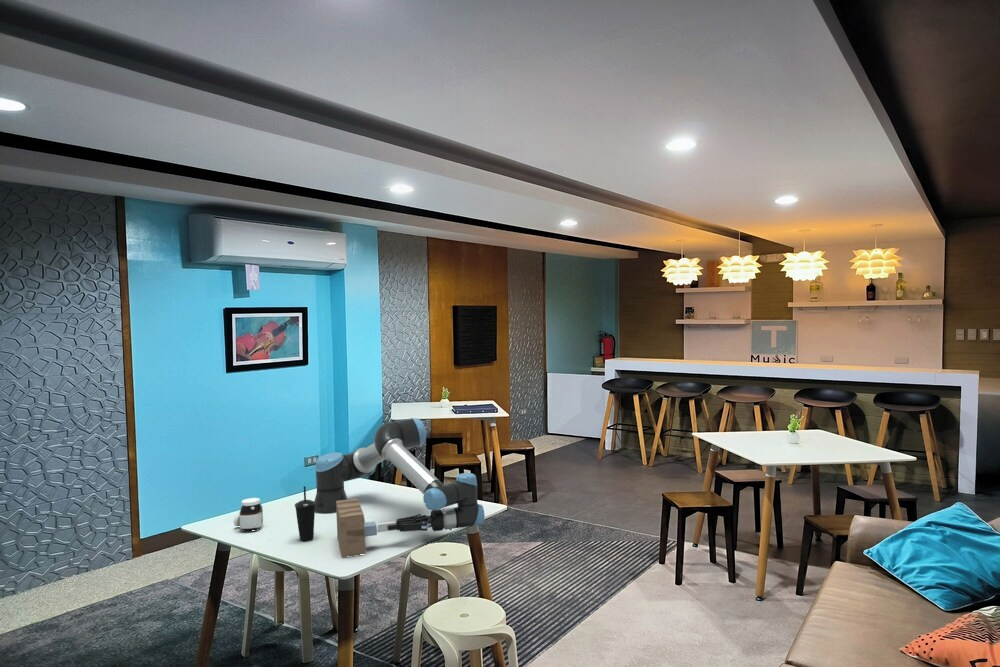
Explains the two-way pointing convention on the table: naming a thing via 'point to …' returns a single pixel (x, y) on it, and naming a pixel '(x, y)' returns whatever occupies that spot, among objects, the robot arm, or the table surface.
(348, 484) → the table surface
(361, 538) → the brown wooden block
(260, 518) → the spread jar
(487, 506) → the table surface
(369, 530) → the slate key
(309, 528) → the drinking cup
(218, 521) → the table surface
